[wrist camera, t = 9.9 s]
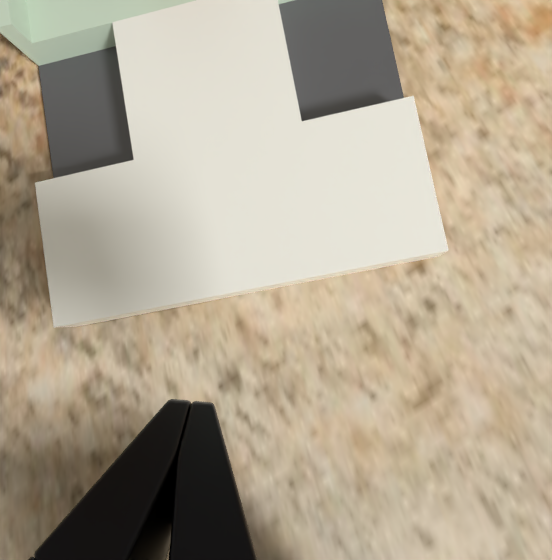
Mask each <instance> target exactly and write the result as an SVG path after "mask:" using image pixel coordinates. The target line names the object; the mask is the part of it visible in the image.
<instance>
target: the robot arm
mask: <svg viewBox="0 0 552 560" xmlns="http://www.w3.org/2000/svg"><path fill="white" fill-rule="evenodd" d="M169 546H170V553H169V560H257V558H256V554H255V550H254V547H253V543H252V540H251V536H250V532H249V529H248V525H247V522H246V518H245V514H244V511H243V507H242V503H241V500H240V496H239V493H238V489H237V485H236V482H235V478H234V474H233V471H232V467H231V464H230V460H229V456H228V453H227V449H226V446H225V442H224V438H223V435H222V431H221V427H220V424H219V420H218V417H217V413H216V409H215V406H214V404H213V403H210V402H199V401H194V402H193V403H192V404H191V402H190V401H188V400H177V399H171V400H169V401H168V402H167V403H166V404H165V405H164V406H163V407H162V408H161V409H160V410H159V412H158V413H157V414H156V415H155V416H154V417H153V418H152V420H151V421H150V422H149V423H148V424H147V425H146V426H145V427H144V429H143V430H142V431H141V432H140V433H139V434H138V435H137V437H136V438H135V439H134V440H133V441H132V442H131V443H130V445H129V446H128V447H127V448H126V449H125V450H124V451H123V453H122V454H121V455H120V456H119V457H118V458H117V459H116V460H115V462H114V463H113V464H112V465H111V466H110V467H109V468H108V470H107V471H106V472H105V473H104V474H103V475H102V476H101V478H100V479H99V480H98V481H97V482H96V483H95V484H94V485H93V487H92V488H91V489H90V490H89V491H88V492H87V493H86V495H85V496H84V497H83V498H82V499H81V500H80V501H79V503H78V504H77V505H76V506H75V507H74V508H73V509H72V511H71V512H70V513H69V514H68V515H67V516H66V517H65V518H64V520H63V521H62V522H61V523H60V524H59V525H58V526H57V528H56V529H55V530H54V531H53V532H52V533H51V534H50V536H49V537H48V538H47V539H46V540H45V541H44V542H43V544H42V545H41V546H40V547H39V548H38V549H37V550H36V551H35V554H34V556H35V558H34V557H30V558H29V559H28V560H166V557H167V553H168V550H169Z"/></svg>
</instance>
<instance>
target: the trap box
mask: <svg viewBox="0 0 552 560" xmlns="http://www.w3.org/2000/svg"><path fill="white" fill-rule="evenodd" d="M0 33H1V34H2V35H4V36H5V37H6V38H7V39H8V40H9V41H10V42H12V43H13V44H14V45H15V46H16V47H17V48H18V49H20V50H21V51H22V52H23V53H24V54H25V55H27V56H28V57H29V58H30V59H31V60H32V61H33V62H35V63H36V64H37V65H38V66H39V73H40V81H41V88H42V95H43V103H44V110H45V117H46V125H47V132H48V139H49V147H50V154H51V162H52V169H53V176H54V178H53V179H48V180H44V181H40V182H35V188H36V196H37V203H38V211H39V218H40V226H41V234H42V241H43V249H44V256H45V264H46V272H47V279H48V287H49V295H50V302H51V310H52V317H53V325H54V327H78V326H84V325H89V324H94V323H99V322H104V321H109V320H114V319H120V318H125V317H130V316H135V315H140V314H145V313H151V312H156V311H161V310H166V309H171V308H176V307H182V306H187V305H192V304H197V303H202V302H207V301H212V300H218V299H223V298H228V297H233V296H238V295H243V294H249V293H254V292H259V291H264V290H269V289H274V288H280V287H285V286H290V285H295V284H300V283H305V282H310V281H316V280H321V279H326V278H331V277H336V276H341V275H347V274H352V273H357V272H362V271H367V270H372V269H377V268H383V267H388V266H393V265H398V264H403V263H408V262H414V261H419V260H424V259H429V258H434V257H438V256H440V255H442V254H443V253H445V252H447V251H448V246H447V242H446V237H445V233H444V228H443V224H442V220H441V215H440V211H439V206H438V202H437V197H436V193H435V189H434V184H433V180H432V175H431V171H430V167H429V162H428V158H427V153H426V149H425V145H424V140H423V136H422V131H421V127H420V122H419V118H418V114H417V109H416V105H415V100H414V96H411V97H406V98H404V96H403V92H402V88H401V83H400V79H399V74H398V70H397V65H396V61H395V56H394V52H393V47H392V43H391V38H390V34H389V29H388V25H387V21H386V16H385V12H384V7H383V3H382V0H0Z"/></svg>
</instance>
